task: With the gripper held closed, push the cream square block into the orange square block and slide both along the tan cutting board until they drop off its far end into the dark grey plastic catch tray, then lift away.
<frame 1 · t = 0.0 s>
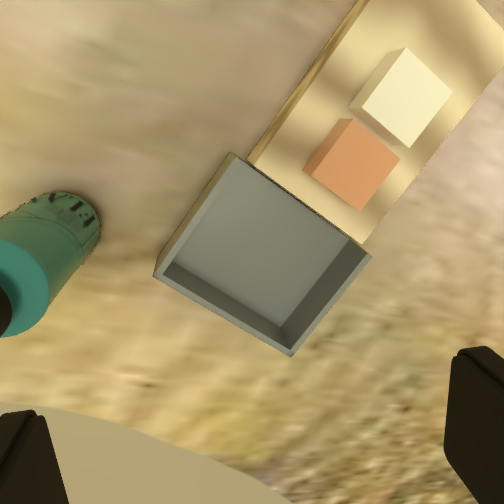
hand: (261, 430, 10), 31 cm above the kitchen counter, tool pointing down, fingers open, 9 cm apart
catch tray: (257, 248, 41), on the kitchen counter
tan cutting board: (362, 107, 38), on the kitchen counter
orange square block: (343, 162, 35), point 5 cm above the kitchen counter, touching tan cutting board
cream square block: (389, 100, 34), point 5 cm above the kitchen counter, touching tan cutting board
beverage bottle: (69, 221, 38), on the kitchen counter
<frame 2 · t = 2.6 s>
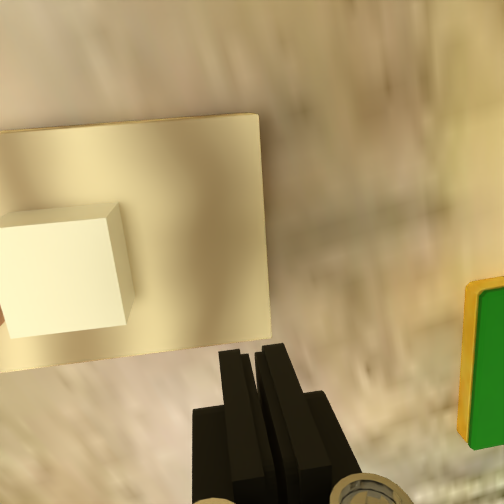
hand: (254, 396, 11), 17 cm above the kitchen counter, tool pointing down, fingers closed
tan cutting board: (89, 229, 25), on the kitchen counter
dish sponge: (498, 351, 33), on the kitchen counter
cream square block: (75, 256, 21), point 5 cm above the kitchen counter, touching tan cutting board
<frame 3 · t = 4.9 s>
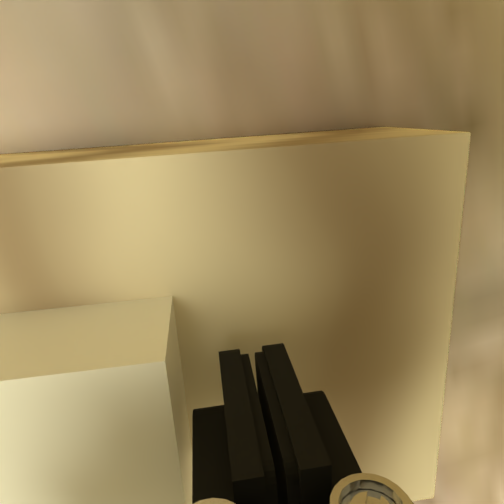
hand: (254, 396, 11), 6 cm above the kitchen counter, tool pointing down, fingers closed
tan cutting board: (128, 308, 16), on the kitchen counter
cream square block: (89, 390, 11), point 5 cm above the kitchen counter, touching gripper
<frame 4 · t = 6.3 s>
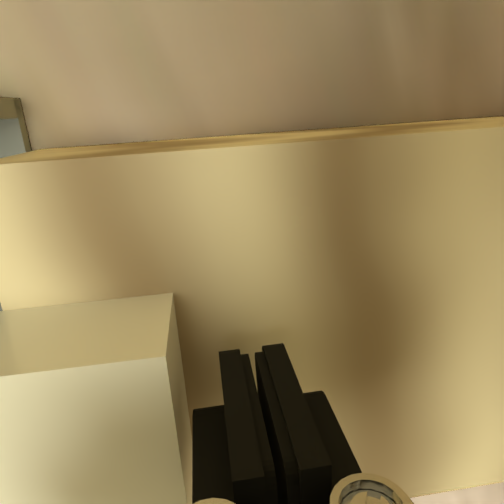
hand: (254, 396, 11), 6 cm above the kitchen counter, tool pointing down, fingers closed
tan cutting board: (332, 282, 17), on the kitchen counter
cream square block: (90, 387, 11), point 5 cm above the kitchen counter, touching gripper
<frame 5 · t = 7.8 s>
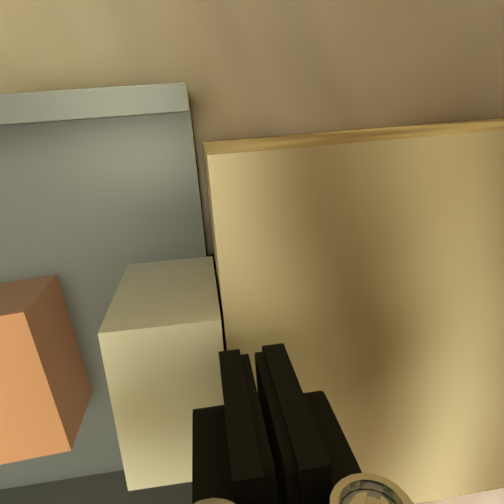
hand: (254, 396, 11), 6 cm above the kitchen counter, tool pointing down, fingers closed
catch tray: (48, 320, 16), on the kitchen counter
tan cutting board: (459, 271, 17), on the kitchen counter
cream square block: (222, 353, 14), point 3 cm above the kitchen counter, tilted 90°, touching catch tray
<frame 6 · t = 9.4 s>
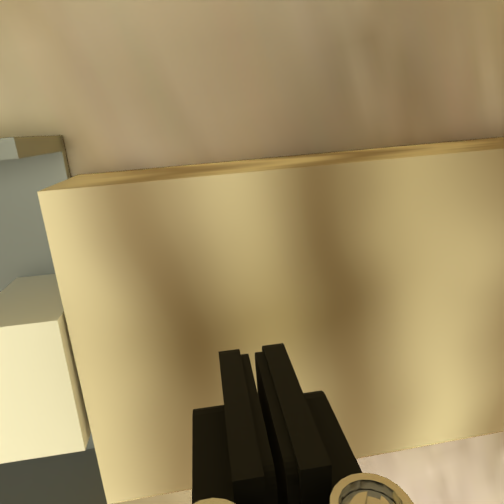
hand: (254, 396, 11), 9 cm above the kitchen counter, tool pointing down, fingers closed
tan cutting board: (316, 280, 20), on the kitchen counter
cream square block: (88, 351, 16), point 3 cm above the kitchen counter, tilted 90°, touching catch tray
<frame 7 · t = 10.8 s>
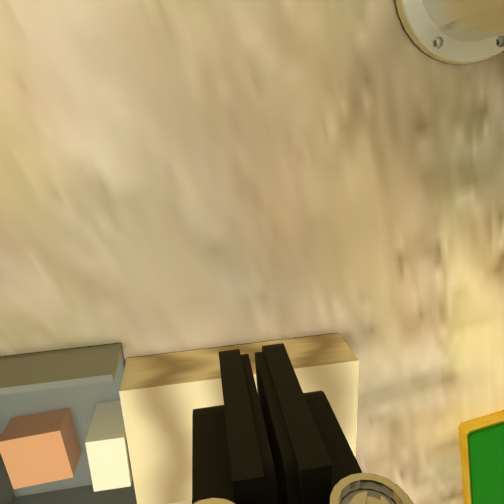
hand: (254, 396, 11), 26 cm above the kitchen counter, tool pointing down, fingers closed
catch tray: (64, 423, 39), on the kitchen counter
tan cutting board: (239, 399, 41), on the kitchen counter
orange square block: (36, 460, 35), point 3 cm above the kitchen counter, tilted 180°, touching catch tray
dish sponge: (485, 458, 50), on the kitchen counter
cream square block: (130, 440, 37), point 3 cm above the kitchen counter, tilted 90°, touching catch tray
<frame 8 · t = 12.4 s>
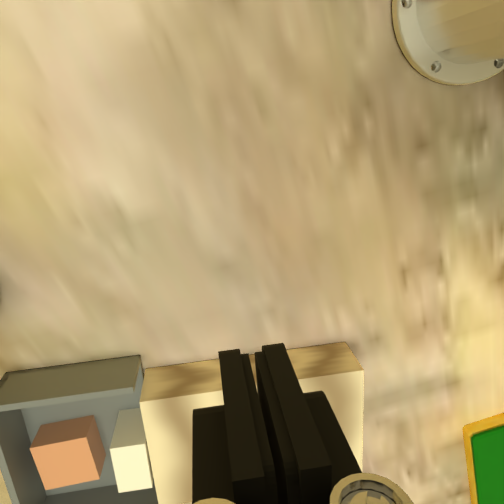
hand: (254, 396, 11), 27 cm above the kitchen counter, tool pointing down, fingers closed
catch tray: (89, 429, 42), on the kitchen counter
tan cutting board: (252, 405, 43), on the kitchen counter
orange square block: (65, 464, 39), point 3 cm above the kitchen counter, tilted 180°, touching catch tray
dish sponge: (491, 457, 51), on the kitchen counter
cream square block: (151, 445, 40), point 3 cm above the kitchen counter, tilted 90°, touching catch tray
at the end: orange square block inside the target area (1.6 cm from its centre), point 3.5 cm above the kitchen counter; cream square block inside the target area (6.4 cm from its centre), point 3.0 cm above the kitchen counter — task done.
